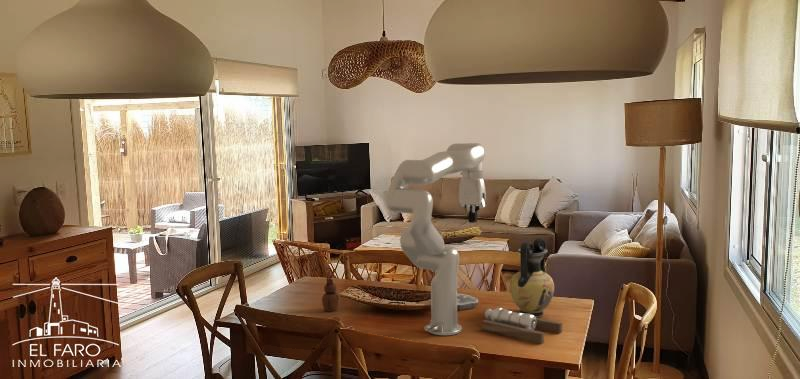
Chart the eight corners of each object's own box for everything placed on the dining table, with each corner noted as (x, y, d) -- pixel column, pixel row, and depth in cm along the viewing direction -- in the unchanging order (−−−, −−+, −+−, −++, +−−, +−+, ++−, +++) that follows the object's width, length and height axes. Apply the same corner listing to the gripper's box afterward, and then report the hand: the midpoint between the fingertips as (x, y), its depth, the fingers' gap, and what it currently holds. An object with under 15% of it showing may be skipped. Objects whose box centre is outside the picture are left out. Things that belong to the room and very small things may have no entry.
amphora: (543, 324, 242) (543, 245, 239) (502, 316, 252) (502, 241, 249) (560, 312, 257) (561, 237, 253) (521, 305, 266) (521, 234, 263)
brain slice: (472, 299, 278) (472, 292, 278) (481, 310, 262) (481, 303, 261) (427, 301, 276) (427, 294, 276) (434, 313, 259) (434, 306, 259)
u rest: (541, 344, 221) (541, 334, 221) (482, 330, 237) (482, 321, 236) (562, 332, 233) (562, 322, 232) (504, 319, 248) (504, 310, 248)
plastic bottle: (532, 312, 229) (485, 302, 242) (527, 331, 227) (480, 319, 240) (540, 317, 233) (494, 307, 247) (535, 335, 232) (489, 324, 245)
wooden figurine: (327, 313, 261) (326, 277, 259) (320, 310, 265) (318, 275, 264) (341, 310, 265) (340, 274, 263) (334, 307, 270) (332, 272, 268)
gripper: (451, 175, 251) (451, 221, 253) (483, 176, 242) (483, 225, 244) (462, 173, 257) (462, 219, 259) (494, 175, 247) (494, 222, 249)
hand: (472, 222), depth 251 cm, fingers closed
